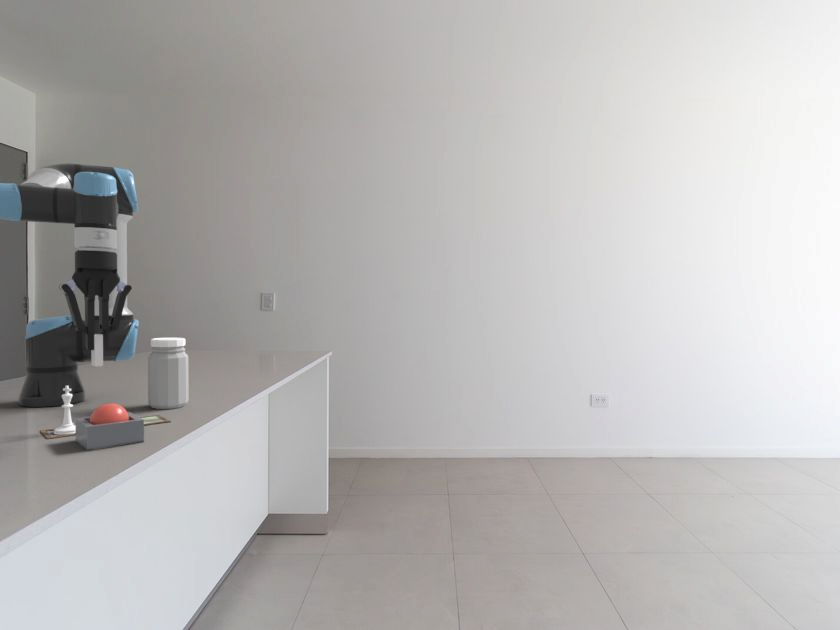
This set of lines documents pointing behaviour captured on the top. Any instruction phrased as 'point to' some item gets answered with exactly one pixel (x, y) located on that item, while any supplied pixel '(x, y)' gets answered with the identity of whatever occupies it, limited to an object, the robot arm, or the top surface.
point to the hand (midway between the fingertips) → (97, 365)
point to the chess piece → (66, 415)
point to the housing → (109, 433)
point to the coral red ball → (108, 414)
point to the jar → (168, 373)
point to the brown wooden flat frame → (147, 420)
